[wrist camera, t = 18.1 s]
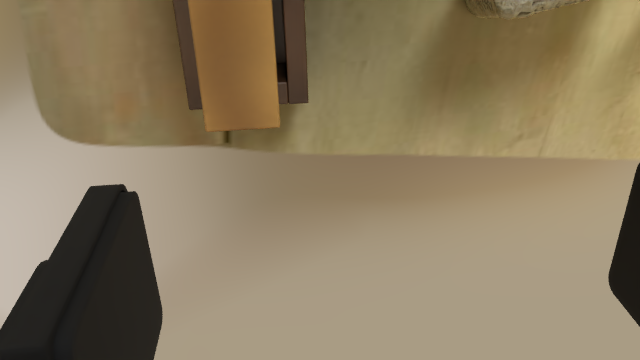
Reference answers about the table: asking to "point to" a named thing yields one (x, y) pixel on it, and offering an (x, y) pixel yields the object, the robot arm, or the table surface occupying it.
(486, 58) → the table surface
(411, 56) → the table surface
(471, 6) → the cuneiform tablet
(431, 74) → the table surface
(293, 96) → the holder
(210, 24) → the frame
